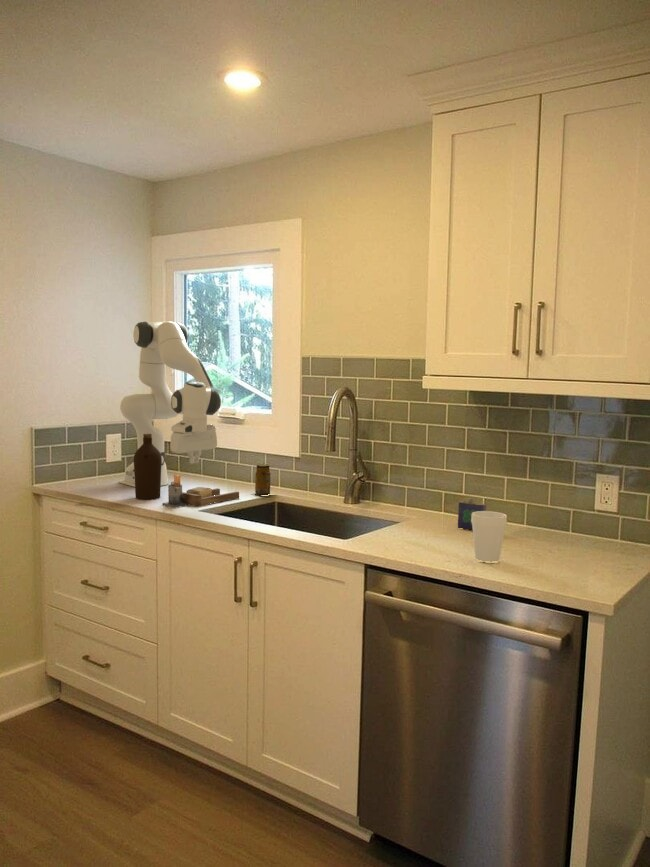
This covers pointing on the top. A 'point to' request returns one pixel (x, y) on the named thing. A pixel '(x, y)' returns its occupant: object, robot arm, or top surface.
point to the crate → (201, 491)
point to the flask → (468, 512)
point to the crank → (176, 481)
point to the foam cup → (488, 534)
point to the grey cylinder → (174, 497)
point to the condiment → (262, 480)
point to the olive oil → (147, 470)
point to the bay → (198, 501)
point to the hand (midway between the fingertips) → (194, 462)
